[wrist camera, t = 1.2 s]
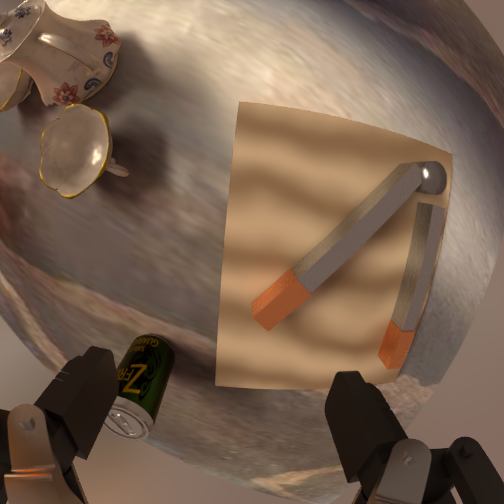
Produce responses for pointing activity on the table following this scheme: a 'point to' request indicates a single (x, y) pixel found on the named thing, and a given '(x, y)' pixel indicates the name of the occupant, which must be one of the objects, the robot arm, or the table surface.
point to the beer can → (140, 387)
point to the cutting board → (312, 246)
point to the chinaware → (62, 89)
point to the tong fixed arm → (413, 285)
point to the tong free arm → (346, 239)
